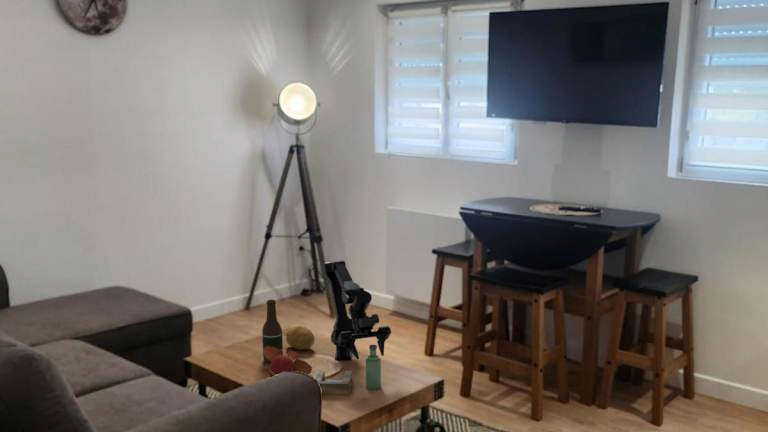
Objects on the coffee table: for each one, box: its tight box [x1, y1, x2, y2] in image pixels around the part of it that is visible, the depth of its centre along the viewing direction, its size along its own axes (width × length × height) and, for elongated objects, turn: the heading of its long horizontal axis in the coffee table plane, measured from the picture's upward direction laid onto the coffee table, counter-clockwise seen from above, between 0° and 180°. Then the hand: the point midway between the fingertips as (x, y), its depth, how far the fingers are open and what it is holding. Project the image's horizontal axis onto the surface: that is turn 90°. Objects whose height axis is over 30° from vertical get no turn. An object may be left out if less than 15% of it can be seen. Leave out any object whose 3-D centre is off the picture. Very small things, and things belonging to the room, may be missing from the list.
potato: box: [285, 325, 315, 351], centre depth 288 cm, size 10×13×9 cm
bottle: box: [365, 344, 382, 391], centre depth 246 cm, size 5×5×15 cm
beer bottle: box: [261, 299, 284, 365], centre depth 273 cm, size 8×8×24 cm
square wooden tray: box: [314, 370, 353, 396], centre depth 247 cm, size 12×12×4 cm
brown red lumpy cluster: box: [264, 345, 313, 376], centre depth 260 cm, size 20×9×15 cm
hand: (370, 357), depth 248 cm, fingers open, 9 cm apart
